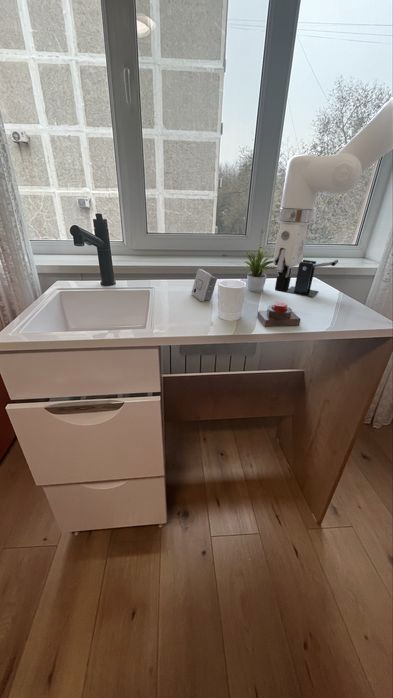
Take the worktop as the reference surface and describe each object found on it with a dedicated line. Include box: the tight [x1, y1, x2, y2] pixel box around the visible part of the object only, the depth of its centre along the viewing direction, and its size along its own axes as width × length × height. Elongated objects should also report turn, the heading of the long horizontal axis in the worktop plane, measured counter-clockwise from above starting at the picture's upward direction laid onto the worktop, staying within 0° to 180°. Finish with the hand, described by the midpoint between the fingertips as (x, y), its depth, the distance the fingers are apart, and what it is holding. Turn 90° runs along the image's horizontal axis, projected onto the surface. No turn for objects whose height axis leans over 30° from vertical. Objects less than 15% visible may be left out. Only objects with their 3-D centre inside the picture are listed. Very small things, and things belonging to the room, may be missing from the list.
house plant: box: [243, 245, 275, 292], centre depth 102 cm, size 14×14×16 cm
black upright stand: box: [286, 259, 319, 298], centre depth 102 cm, size 10×8×12 cm
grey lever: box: [310, 259, 339, 268], centre depth 98 cm, size 11×5×2 cm, turn 56°
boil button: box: [273, 301, 288, 312], centre depth 80 cm, size 4×4×2 cm
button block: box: [256, 304, 301, 328], centre depth 81 cm, size 10×7×4 cm
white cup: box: [217, 279, 247, 322], centre depth 82 cm, size 8×8×10 cm
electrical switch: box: [191, 268, 218, 303], centre depth 98 cm, size 9×5×9 cm, turn 22°
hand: (281, 290), depth 78 cm, fingers closed
